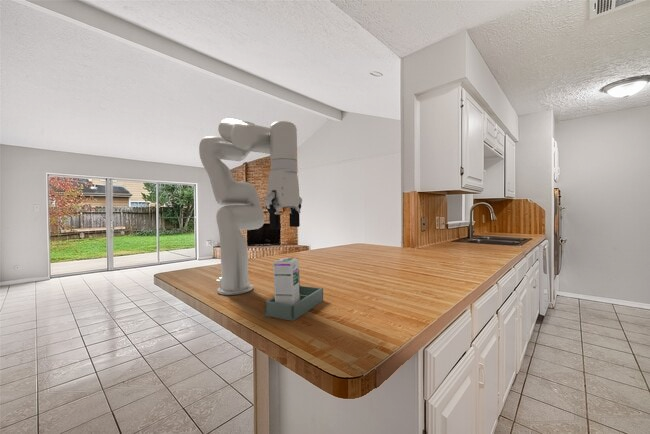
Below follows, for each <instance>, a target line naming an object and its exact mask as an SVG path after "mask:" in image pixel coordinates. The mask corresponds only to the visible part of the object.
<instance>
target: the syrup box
mask: <svg viewBox="0 0 650 434" xmlns="http://www.w3.org/2000/svg"><path fill="white" fill-rule="evenodd" d="M299 265H300V262H299V258H296V257H282V258H280V259H278V260H274V261H273V262H272V266H273V271H272V272H273V286H274V287H273V288H274V289H273V291H274V297H275V302H276V303H283V304H289V305H293V304H295V303H296V302H298V301H300V286H301V285H300V283H301V282H300V266H299Z"/></svg>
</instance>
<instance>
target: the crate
mask: <svg viewBox="0 0 650 434" xmlns="http://www.w3.org/2000/svg"><path fill="white" fill-rule="evenodd" d="M323 301H324V288H323V287H318V286H317V287H316V286H315V287H314V286H307V285H300V301H298V302H296V303H295V304H293V305H289V304H283V303H276V302H275V296H273V297H272V298H270V299H267V300H265V302H264V310H265V315H264V316H265V317H270V318H275V319H281V320H287V321H292V322H294V321H296V319H299V318H300V317H301V316H304V314H306V313H307V312H309V311H310V310H312V309H313V308H314V307H316V306H318V305H319V304H320V303H322V302H323Z"/></svg>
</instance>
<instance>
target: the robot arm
mask: <svg viewBox="0 0 650 434" xmlns="http://www.w3.org/2000/svg"><path fill="white" fill-rule="evenodd" d="M297 130H298V129H297V126H296V125H295V124H294V123H292V122H290V121H287V120H286V121H284V120H282V121H280V120H279V121H274V122H272V123H271V124H270V127H266V126H264V125H263V126H262V125H257V124H255V123H253V122H252V121H251V122H250V121H247V120H241V119H237V118H233V117H231V118H225V119H222V120H221V121H220V122H219V124H218V129H217V131H218V134H219V136H217V135H216V136H214V135H213V136H212V135H210V136H205V137H203V138H202V139H201V140H200V141H199V144H198V146H199V148H198V150H199V151H198V154H199V157H200V158H199V159H200V161H201V164H202V166H203V168H204V169H205V171H206V173H207V175H208V178H209V181H210V185H211V188H212V192H213V196H214V200H215V201H216V203H217V204H218V205H220V206H222V207H220V208H219V209H218V210H217V212H216V216H215V217H216V223H217V228H218V233H219V234H218V235H219V246H220V249H219V250H220V272H221V274H220V275H221V276H220V277H218V278H217V279H216V280H215V283H216V284H219V287H218V288H217V294H219V295H222V296H224V295H225V296H232V295H233V296H235V295H242V294H246V293H248V292H251V291H252V290H253V289H254V285H253V284H251V283H250V282H249V260H248V259H249V258H248V257H249V256H248V255H249V253H248V242H247V239H246V237H245V236H244V234H243V233H242V231H251V230H259V229H260V228H262V227H263V226H264V223H265V213H264V209H263V206H262V204H261V201H260V198H259V194H258V191H257V190H256V187H255V186H254V185H253V184H252V183H251V182H247V181H238V180H235V179H234V177H233V173H232V171H231V169H230V168H229V166H228V165H226V164H225V163H224V162H223V161H222V160H224V161H234V162H241V161H244V160H245V159H246V158H247V157H248V155H249V154H250V153H252V152H253V153H262V154H267V155H270V156H269V157H270V171H269V173H268V179H267V191H266V196H265V197H264V198H263V202H264V204H265V209H266V211H267V215H268V217H269V229H270V230H281V214H279V213H280V211H281V209H282V208H288V210H289V212H290V213H289V215H288V216H289V227H292V228H294V227H295V228H299V227H300V226H301V224H300V218H301V217H300V214H301V209H302V205H303V204H302V203H303V198H302V197H301V196H300V183H299V176H298V172H299V171H298V133H297V132H298V131H297Z"/></svg>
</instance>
